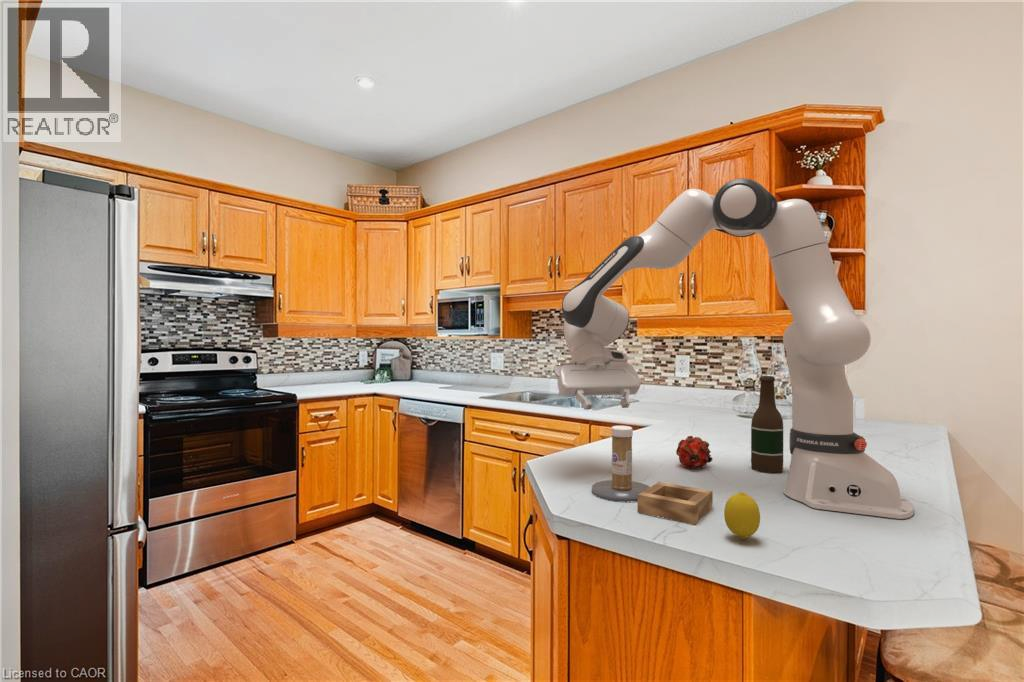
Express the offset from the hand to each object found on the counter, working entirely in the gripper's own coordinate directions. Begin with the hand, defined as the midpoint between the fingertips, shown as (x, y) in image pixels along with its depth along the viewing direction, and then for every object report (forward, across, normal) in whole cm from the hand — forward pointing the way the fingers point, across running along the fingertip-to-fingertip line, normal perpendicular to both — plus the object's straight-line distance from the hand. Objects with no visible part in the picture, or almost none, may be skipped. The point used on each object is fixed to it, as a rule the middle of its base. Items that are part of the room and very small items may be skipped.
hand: (607, 407), depth 120 cm
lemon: (+38, +8, -13) cm, 41 cm away
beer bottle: (+12, +45, +14) cm, 48 cm away
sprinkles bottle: (+17, 0, +7) cm, 19 cm away
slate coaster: (+18, 0, +7) cm, 19 cm away
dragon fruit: (+6, +28, +19) cm, 35 cm away
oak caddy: (+27, +5, -2) cm, 28 cm away
